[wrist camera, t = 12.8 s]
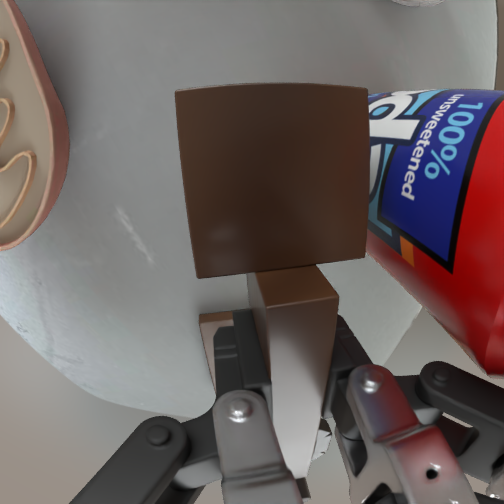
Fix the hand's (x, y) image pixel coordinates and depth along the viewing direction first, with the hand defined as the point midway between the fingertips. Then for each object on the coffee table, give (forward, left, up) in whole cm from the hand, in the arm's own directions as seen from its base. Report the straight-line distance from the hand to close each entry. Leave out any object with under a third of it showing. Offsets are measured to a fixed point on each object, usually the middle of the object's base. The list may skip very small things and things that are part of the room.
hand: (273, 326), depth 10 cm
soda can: (-7, -5, -8) cm, 11 cm away
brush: (0, +3, -1) cm, 3 cm away
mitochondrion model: (+15, -14, -8) cm, 22 cm away
